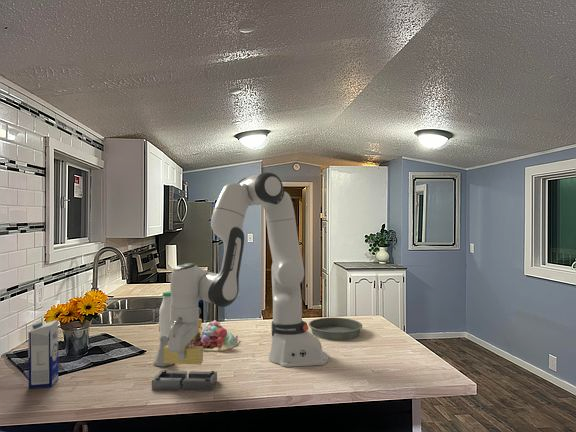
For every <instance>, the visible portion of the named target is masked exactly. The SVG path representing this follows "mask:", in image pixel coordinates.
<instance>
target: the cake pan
mask: <svg viewBox="0 0 576 432" xmlns="http://www.w3.org/2000/svg"><path fill="white" fill-rule="evenodd" d="M308 328H310V329H311V334H312V335H313V336H315V337H316V338H319V339H323V340H328V341H329V340H331V341H344V340H345V341H347V340H352V339H356V338H357V337H358V336H359V335H360V331H361V329H362V328H363V324H362V323H361V322H359V320H355V319H351V318H350V319H349V318H344V317H321V318H316V319H313V320H311V321H309V322H308Z"/></svg>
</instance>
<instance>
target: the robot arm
mask: <svg viewBox="0 0 576 432" xmlns="http://www.w3.org/2000/svg"><path fill="white" fill-rule="evenodd" d="M258 205H260V206H262V208H263V209H264V213H265V221H266V228H267V236H268V244H269V250H270V254H271V260H272V263H271V286H272V287H271V290H272V291H271V292H272V321H271V327H270V328H271V331H270V332H271V337H272V339H271V347H270V352H269V355H268V360H269V361H270V362H272V363H275V364H278V365H279V366H282V367H285V368H289V367H291V368H293V367H307V366H325V365H326V364H328V363H329V355H328V353H327V352H326V351H324V350H323V346H322V343H321V341H320V339H318V337H316V336H314V335H313V334H312V332H310V331H308V330H309V324H308V323H307V321H305V320H303V313H302V312H303V298H302V292H301V289H302V288H301V284H302V282H303V280H304V277H305V268H304V263H303V257H302V251H301V246H300V243H299V237H298V229H297V221H296V214H295V208H294V205H293V201H292V198H291V195H290V194H289V193H288V192H287V191H285V188H284V185H283V182H282V180H281V179H280V177H279V176H278V175H277V174H276V173H272V172H261V173H256V174H253V175H251V176H248V177H245V178H242V179H241V180H239V182H238V183H237V182H230V183H227V184H225V185H224V186H223V188H222V190H221V191H220V194H219V196H218V198H217V199H216V203H215V205H214V209H213V211H212V214H211V220H210V227H211V230H212V232H213V233H214V234H215V235H216V237H218V238H219V239H220V240H221V241H222V243H223V247H224V249H223V250H224V251H223V257H222V261H221V262H222V263H221V268H220V270H219V273H215V272H211V271H209V270H206V269H203V268H201V267H200V266H198V265H197V264H196V263H191V262H187V263H181V264H179V265H176V266H175V267H174V268H173V269H172V272H171V275H170V276H171V277H170V285H169V286H170V290H169V291H170V293H171V297H172V300H171V304H170V321H172V322H174V325H173V326H171V328H170V332H169V338H168V348H169V351H170V352H178V359H179V360H184V359H185V353H184V349H185V346H190V341H191V340H192V339H193V338H194V337H195V336H196V335H197V332H198V325H199V319H200V315H201V313H202V311H201V308H200V307H199V302H200V301H204V302H207V303H211V304H214V305H215V306H218V307H220V308H224V307H225V308H226V307H229V306H230V305H232V304H233V303H234V301H236V299H237V297H238V295H239V289H240V287H239V286H240V284H239V283H240V282H239V281H240V270H241V266H242V265H241V263H242V259H243V258H242V257H243V253H244V245H245V232H243V231H244V228H243V227H244V222H245V217H246V214H247V210H248V208H249V207H250V206H258Z"/></svg>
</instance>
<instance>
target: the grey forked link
mask: <svg viewBox="0 0 576 432" xmlns="http://www.w3.org/2000/svg"><path fill="white" fill-rule="evenodd" d="M217 381H218V372H217V371H215V370H210V371H189V372H188V373H187V378H185V379H184V380H183V387H182V391H190V390H194V391H197V392H199V391H200V392H203V391H204V392H212V391H213V389H214V388H215V385H216V384H217Z"/></svg>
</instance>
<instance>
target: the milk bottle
mask: <svg viewBox="0 0 576 432" xmlns="http://www.w3.org/2000/svg"><path fill="white" fill-rule="evenodd" d="M171 300H172V297H171V293H170V290H169V291H163V292H162V303H161V304H160V307H159V314H158V320H159V321H158V334H159V335H158V338H159V337H160V336H169V332H170V328H171V326H173V325H174V322H172V321H170V304H171Z"/></svg>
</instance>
